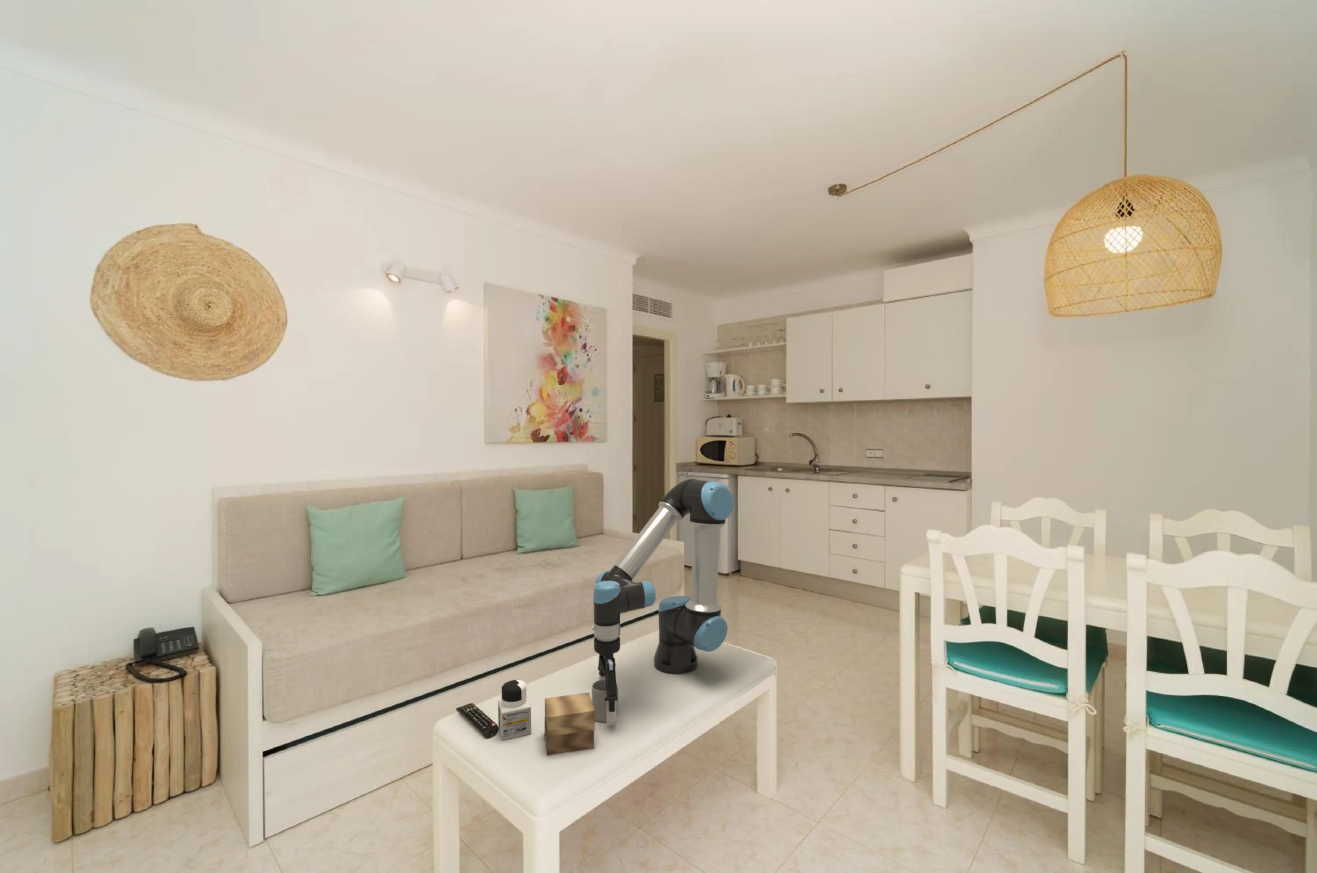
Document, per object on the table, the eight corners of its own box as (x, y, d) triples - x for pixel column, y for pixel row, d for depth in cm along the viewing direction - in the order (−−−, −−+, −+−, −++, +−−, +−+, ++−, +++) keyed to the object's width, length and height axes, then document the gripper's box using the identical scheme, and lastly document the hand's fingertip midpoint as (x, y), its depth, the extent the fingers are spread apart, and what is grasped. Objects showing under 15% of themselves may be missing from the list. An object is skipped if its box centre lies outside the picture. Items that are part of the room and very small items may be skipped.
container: (502, 740, 147) (501, 692, 147) (498, 726, 154) (497, 680, 154) (531, 734, 150) (530, 686, 150) (526, 720, 157) (525, 674, 157)
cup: (586, 718, 158) (586, 687, 158) (607, 702, 167) (607, 673, 166) (607, 725, 154) (607, 693, 154) (627, 709, 163) (627, 679, 163)
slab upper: (589, 710, 154) (588, 692, 153) (594, 729, 144) (594, 710, 144) (544, 716, 150) (544, 698, 150) (547, 736, 141) (547, 717, 141)
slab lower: (589, 728, 153) (588, 711, 153) (594, 749, 144) (593, 730, 143) (544, 735, 150) (544, 716, 150) (546, 756, 141) (546, 737, 140)
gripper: (588, 622, 171) (589, 690, 172) (600, 655, 147) (600, 734, 147) (612, 620, 173) (613, 687, 173) (628, 652, 149) (628, 730, 149)
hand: (607, 709), depth 160 cm, fingers open, 13 cm apart
